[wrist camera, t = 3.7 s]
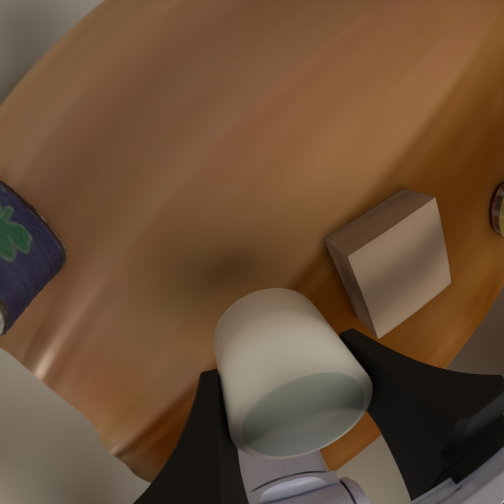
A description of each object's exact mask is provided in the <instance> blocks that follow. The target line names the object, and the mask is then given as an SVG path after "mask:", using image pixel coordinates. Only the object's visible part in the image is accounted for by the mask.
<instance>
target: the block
mask: <svg viewBox="0 0 504 504" xmlns="http://www.w3.org/2000/svg"><path fill="white" fill-rule="evenodd" d="M324 241H325V243H326V246H327V248H328V250H329V252H330V254H331V257H332V259H333V261H334V263H335V266H336V268H337V270H338V273H339V275H340V277H341V280H342V282H343V284H344V287H345V289H346V291H347V294H348V296H349V299H350V301H351V303H352V306H353V308H354V311H355V313H356V316H357V317H358V318H359V319H360V320H361V321H362V322H363V323H364V324H365V325H366V326H367V327H368V328H369V330H370V331H371V332H372V333H373V334H374V335H375V336H376V337H377V338H378V339H379V338H380V337H382V336H383V335H385V334H386V333H388V332H389V331H390V330H392V329H393V328H395V327H396V326H397V325H399V324H400V323H401V322H403V321H404V320H405V319H407V318H408V317H409V316H411V315H412V314H413V313H415V312H416V311H417V310H418V309H420V308H421V307H422V306H424V305H425V304H426V303H427V302H429V301H430V300H431V299H432V298H434V297H435V296H436V295H437V294H438V293H440V292H441V291H442V290H443V289H444V288H446V287H447V286H448V285H449V284H450V283H451V279H450V271H449V264H448V258H447V252H446V246H445V240H444V235H443V230H442V225H441V220H440V216H439V211H438V207H437V203H436V199H435V197H432V196H429V195H426V194H422V193H419V192H415V191H411V190H408V189H402V190H401V191H399V192H398V193H396V194H395V195H393V196H391V197H390V198H388V199H387V200H385V201H383V202H382V203H380V204H379V205H377V206H376V207H374V208H372V209H371V210H369V211H368V212H366V213H364V214H363V215H361V216H360V217H358V218H356V219H355V220H353V221H351V222H350V223H348V224H347V225H345V226H343V227H342V228H340V229H338V230H337V231H335V232H334V233H332V234H330V235H329V236H327V237H325V238H324Z"/></svg>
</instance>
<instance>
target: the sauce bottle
mask: <svg viewBox="0 0 504 504" xmlns="http://www.w3.org/2000/svg"><path fill="white" fill-rule="evenodd" d="M491 211H492V213H491V220H492V225H493V228H494V229H495V231H496V232H497V233H498V234H500V235H501V236H503V237H504V184H502V185H501V186H500V187H499V189H498V190H497V192H496V194H495V197H494V199H493V202H492V206H491Z"/></svg>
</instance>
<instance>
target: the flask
mask: <svg viewBox="0 0 504 504" xmlns="http://www.w3.org/2000/svg"><path fill="white" fill-rule="evenodd" d="M66 256H67V252H66V249H65V246H64V245H63V244H62V242H61V239H60V238H59V236H58V235H57V234H56V233H55V232H54V231H53V229H52V228H51V227H50V225H49V224H48V223H46V221H45V219H44V218H43V217H42V216H41V215H40V214H39V213H38V212H37V211H36V210H35V209H34V208H33V207H32V206H30V205H28V203H27V202H26V201H25V200H24V199H22V198H21V197H20V196H19V195H18V194H17V193H15V192H14V191H13V189H11V188H10V187H8V186H7V185H6V184H5V183H3V182H1V181H0V335H5V334H6V332H7V331H8V330H9V329H10V328H11V327H12V326H13V324H14V322H15V321H16V320H17V318H18V317H19V316H20V315H21V314H22V313H23V311H24V310H25V309H26V307H27V306H28V305H29V304H30V303H31V301H32V300H33V299H34V298H35V296H36V295H37V294H38V293H39V292H40V291H41V290H42V289H43V288H44V287H45V286H46V284H47V283H48V282H49V281H50V280H51V279H52V278H53V277H54V276H55V275H56V274H57V273H58V272H59V270H60V269H61V268H62V265H63V264H64V262H65V261H66Z"/></svg>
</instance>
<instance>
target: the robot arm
mask: <svg viewBox="0 0 504 504" xmlns="http://www.w3.org/2000/svg"><path fill="white" fill-rule="evenodd" d="M340 339H341V340H342V342H343V343H344V344H345V346H346V347H347V348H348V350H349V351H350V352H351V353H352V355H353V356H354V357H355V359H356V360H357V361H358V363H359V364H360V365H361V366H362V368H363V369H364V370H365V372H366V373H367V374H368V376H369V377H370V379H371V381H372V386H373V393H372V398H371V401H370V404H369V406H368V408H367V412H368V413H369V415H370V416H371V417H372V419H373V420H374V422H375V423H376V425H377V426H378V428H379V430H380V432H381V433H382V435H383V437H384V439H385V441H386V443H387V445H388V447H389V449H390V451H391V453H392V455H393V457H394V459H395V461H396V464H397V466H398V468H399V470H400V473H401V475H402V477H403V480H404V482H405V485H406V488H407V490H408V493H409V495H410V498H411V502H409V503H407V504H440V503H441V502H442V501H444V500H446V499H447V498H449V497H450V496H451V497H450V498H449V499H448V500H446V501H445V502H443V503H442V504H502V503H503V502H504V415H503V413H504V378H503V377H502V376H501V375H479V374H469V373H462V372H456V371H451V370H446V369H442V368H438V367H434V366H431V365H428V364H425V363H422V362H419V361H416V360H414V359H411V358H409V357H407V356H404V355H402V354H400V353H398V352H396V351H394V350H391V349H389V348H388V347H386V346H384V345H382V344H380V343H378V342H376V341H374V340H373V339H371V338H369V337H367V336H365V335H364V334H362V333H360V332H358V331H357V330H355V329H353V328H352V329H350V330H347V331H344V332H341V333H340ZM454 493H455V494H454ZM453 494H454V495H453ZM452 495H453V496H452ZM133 504H370V503H369V501H368V498H367V497H366V494H365V493H364V491H363V489H362V488H361V487H360V485H359V484H358V483H357V482H355V481H353V480H351V479H349V478H347V477H343V478H340V479H339V478H338V476H337V474H336V472H335V470H332V471H329V470H328V468H327V465H326V463H325V461H324V459H323V457H322V454H321V452H320V450H316V451H314V452H311V453H308V454H305V455H302V456H297V457H292V458H286V459H265V458H259V457H255V456H252V455H249V454H247V453H245V452H243V451H242V450H240V449H239V448H238V447H237V446H236V445H235V444H234V443H233V441H232V439H231V436H230V432H229V427H228V422H227V417H226V412H225V407H224V402H223V395H222V389H221V384H220V378H219V373H218V370H217V369H214V370H210V371H205V372H202V373H201V374H200V379H199V384H198V388H197V392H196V395H195V399H194V402H193V405H192V408H191V411H190V414H189V417H188V420H187V422H186V425H185V427H184V430H183V432H182V434H181V436H180V439H179V441H178V443H177V445H176V446H175V448H174V450H173V452H172V454H171V455H170V457H169V459H168V460H167V462H166V464H165V465H164V467H163V468H162V470H161V471H160V473H159V474H158V475H157V477H156V478H155V479H154V481H153V482H152V483H151V485H150V486H149V487H148V488H147V489H146V491H145V492H144V493H143V494H142V495H141V496H140V497H139V498H138V499H137V500H136V501H135V502H134V503H133Z"/></svg>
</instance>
